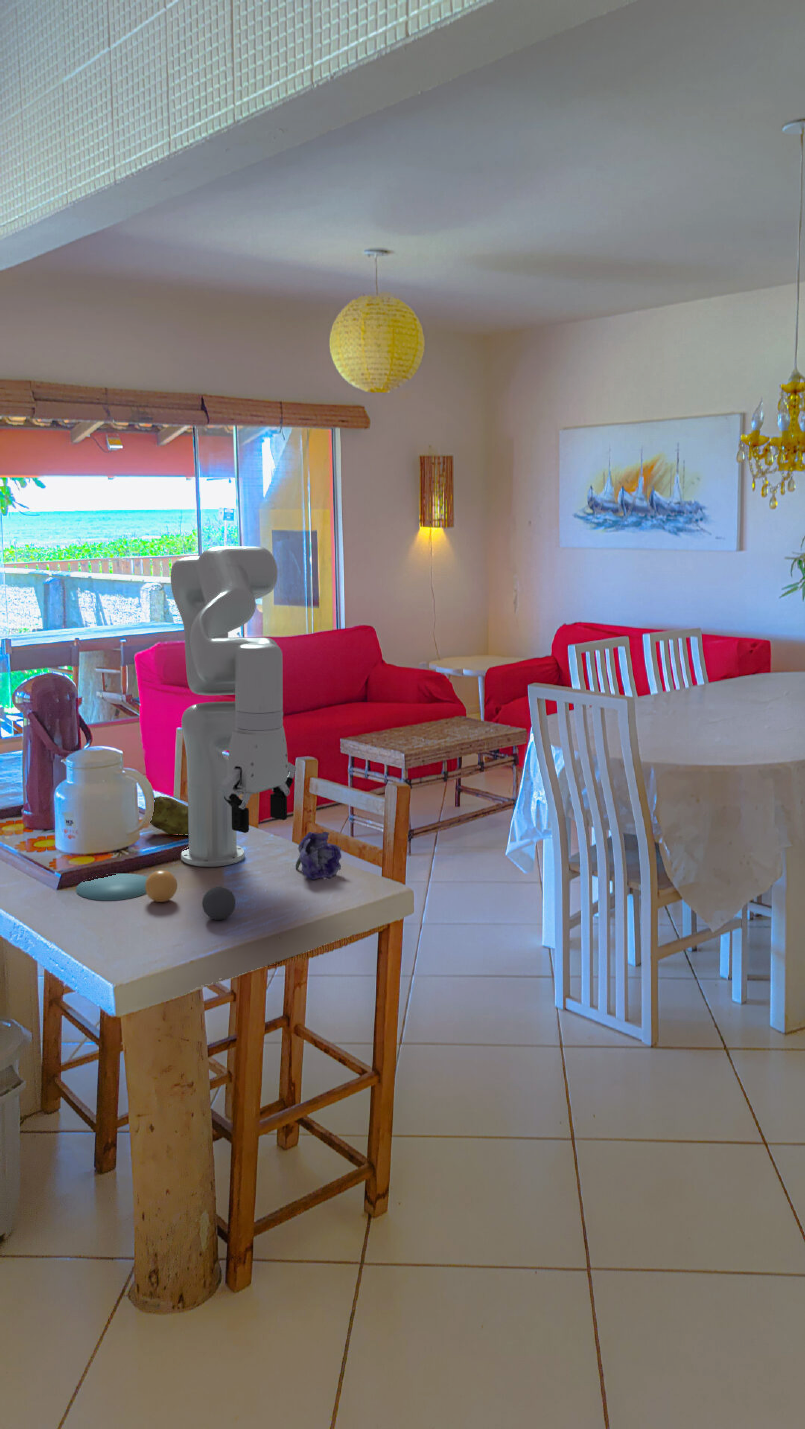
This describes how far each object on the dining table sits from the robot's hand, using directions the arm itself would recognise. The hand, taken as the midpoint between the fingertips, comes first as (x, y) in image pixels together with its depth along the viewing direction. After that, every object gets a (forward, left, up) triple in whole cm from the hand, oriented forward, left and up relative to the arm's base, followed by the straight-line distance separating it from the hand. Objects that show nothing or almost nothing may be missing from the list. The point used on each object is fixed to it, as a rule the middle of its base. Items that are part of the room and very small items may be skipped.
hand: (259, 824), depth 175 cm
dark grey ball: (-5, -8, -16) cm, 18 cm away
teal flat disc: (-18, -31, -18) cm, 40 cm away
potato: (-52, -29, -19) cm, 62 cm away
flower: (-29, +4, -19) cm, 35 cm away
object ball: (-12, -20, -16) cm, 28 cm away
